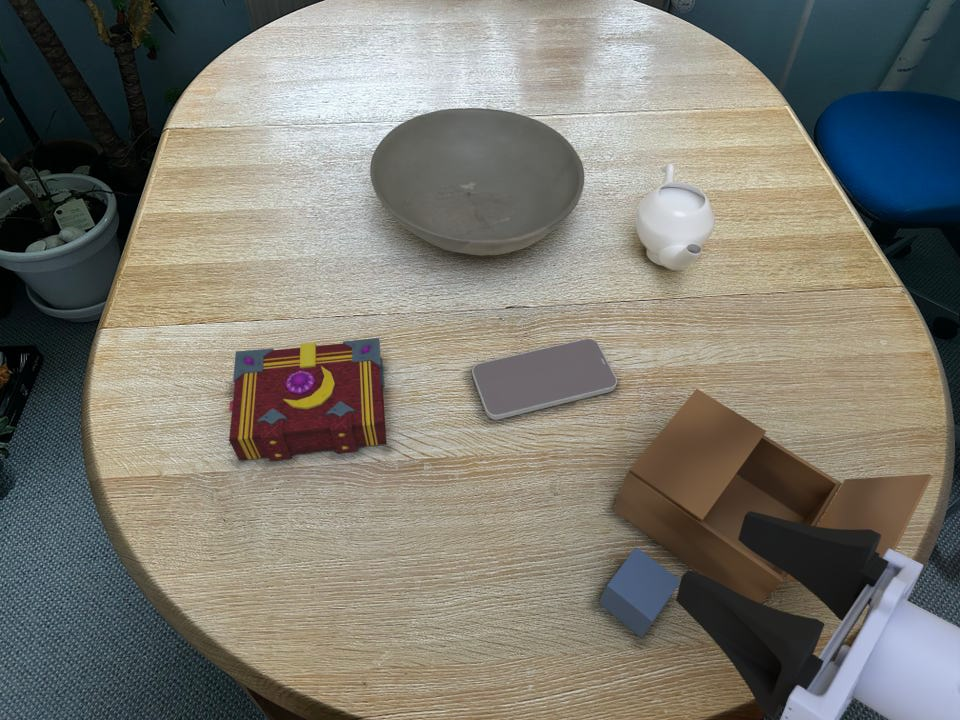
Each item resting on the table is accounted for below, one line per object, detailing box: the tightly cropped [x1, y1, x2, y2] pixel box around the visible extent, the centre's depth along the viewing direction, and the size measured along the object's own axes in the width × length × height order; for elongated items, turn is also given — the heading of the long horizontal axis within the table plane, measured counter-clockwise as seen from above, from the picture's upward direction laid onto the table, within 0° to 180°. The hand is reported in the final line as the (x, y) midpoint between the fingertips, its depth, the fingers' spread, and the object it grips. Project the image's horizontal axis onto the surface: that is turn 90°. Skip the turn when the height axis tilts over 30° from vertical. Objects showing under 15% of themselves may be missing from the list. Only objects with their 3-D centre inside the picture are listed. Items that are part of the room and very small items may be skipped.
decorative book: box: [228, 337, 387, 462], centre depth 70 cm, size 11×16×5 cm
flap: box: [785, 473, 933, 582], centre depth 53 cm, size 7×12×1 cm
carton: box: [612, 388, 843, 604], centre depth 62 cm, size 15×12×8 cm
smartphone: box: [471, 337, 618, 421], centre depth 74 cm, size 7×1×15 cm
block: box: [598, 546, 681, 639], centre depth 58 cm, size 4×4×4 cm
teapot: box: [634, 162, 716, 271], centre depth 85 cm, size 10×20×9 cm, turn 178°
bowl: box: [369, 107, 585, 257], centre depth 89 cm, size 27×28×8 cm
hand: (714, 553), depth 40 cm, fingers open, 7 cm apart
